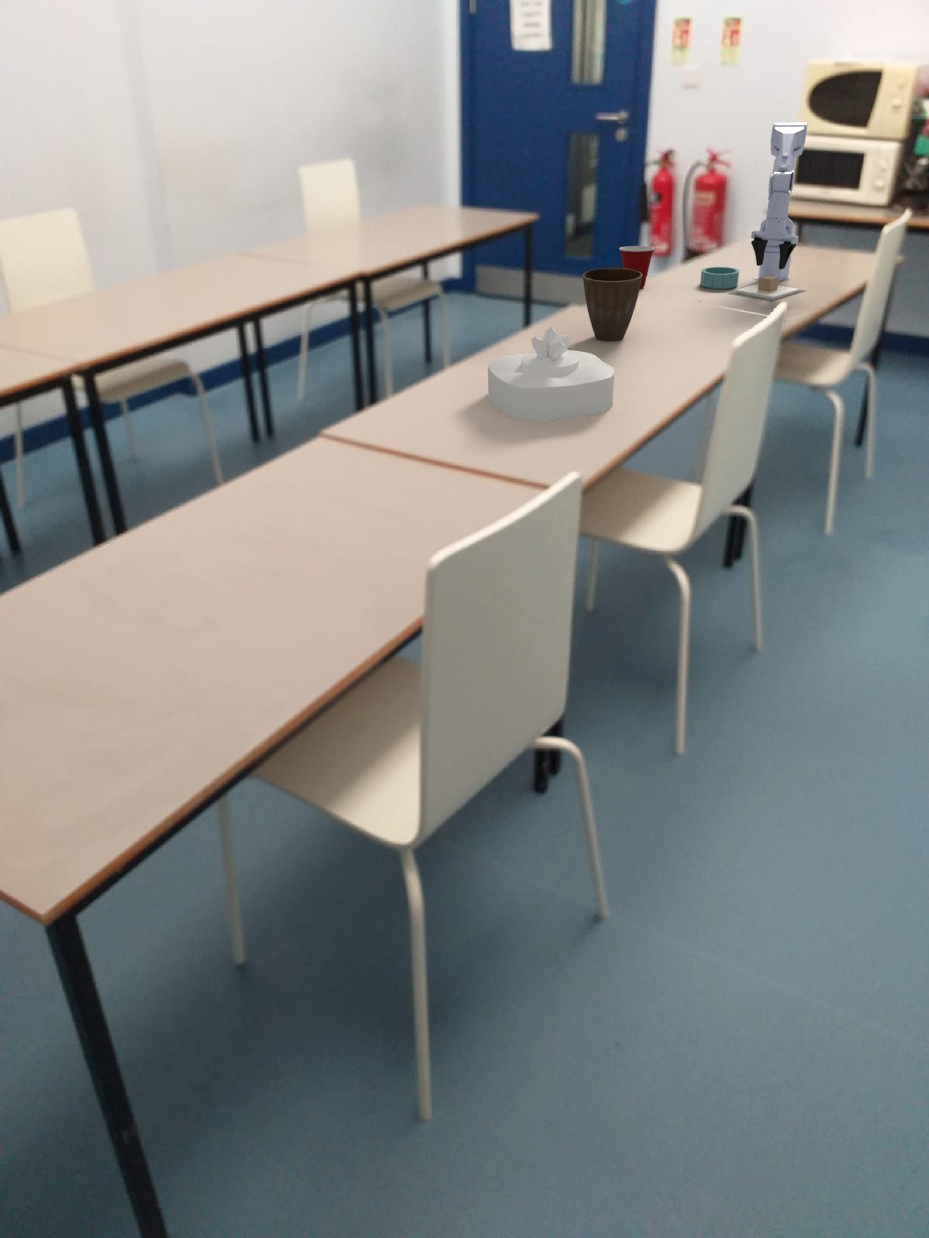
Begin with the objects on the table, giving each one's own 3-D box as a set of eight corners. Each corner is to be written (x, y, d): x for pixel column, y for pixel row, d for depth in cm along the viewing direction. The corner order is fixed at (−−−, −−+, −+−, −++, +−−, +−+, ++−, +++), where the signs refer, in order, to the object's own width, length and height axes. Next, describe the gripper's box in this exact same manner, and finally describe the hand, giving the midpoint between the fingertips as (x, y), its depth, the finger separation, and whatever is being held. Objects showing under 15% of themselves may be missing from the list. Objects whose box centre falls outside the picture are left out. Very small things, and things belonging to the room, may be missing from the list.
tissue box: (625, 412, 205) (630, 335, 197) (514, 427, 200) (513, 349, 191) (581, 378, 226) (583, 308, 218) (478, 391, 220) (477, 319, 212)
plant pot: (644, 344, 247) (648, 279, 239) (586, 347, 247) (588, 282, 238) (631, 329, 260) (635, 266, 252) (576, 331, 260) (578, 269, 251)
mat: (763, 285, 298) (763, 283, 298) (806, 292, 288) (806, 291, 288) (727, 295, 289) (727, 293, 288) (770, 303, 279) (771, 301, 278)
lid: (761, 285, 296) (763, 270, 294) (798, 291, 288) (801, 276, 285) (735, 292, 289) (737, 277, 287) (773, 299, 280) (775, 284, 278)
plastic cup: (651, 283, 305) (654, 243, 299) (653, 291, 296) (656, 249, 290) (616, 283, 306) (618, 243, 300) (617, 291, 297) (619, 250, 291)
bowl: (715, 282, 305) (716, 265, 302) (744, 287, 297) (746, 270, 295) (693, 288, 299) (694, 271, 296) (722, 293, 291) (724, 276, 289)
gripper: (747, 216, 280) (741, 265, 287) (790, 222, 270) (784, 272, 278) (761, 213, 284) (755, 262, 291) (805, 218, 274) (798, 268, 281)
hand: (770, 267), depth 284 cm, fingers open, 7 cm apart
